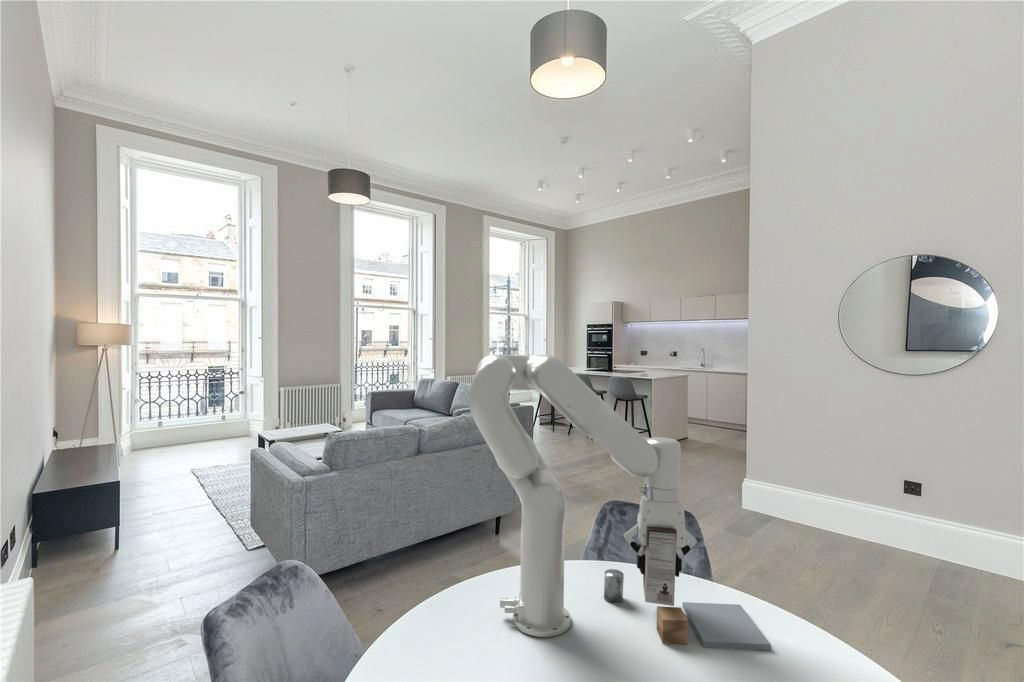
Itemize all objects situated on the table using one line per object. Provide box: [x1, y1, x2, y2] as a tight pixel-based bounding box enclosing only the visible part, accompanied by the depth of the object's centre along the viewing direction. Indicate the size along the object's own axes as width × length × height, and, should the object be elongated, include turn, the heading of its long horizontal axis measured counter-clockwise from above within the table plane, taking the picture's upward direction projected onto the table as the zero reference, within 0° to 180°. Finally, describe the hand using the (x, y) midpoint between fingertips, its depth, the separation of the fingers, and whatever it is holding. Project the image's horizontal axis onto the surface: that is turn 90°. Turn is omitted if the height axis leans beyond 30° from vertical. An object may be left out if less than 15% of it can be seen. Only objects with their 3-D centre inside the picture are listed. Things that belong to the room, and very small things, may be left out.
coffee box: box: [642, 527, 677, 607], centre depth 109 cm, size 9×6×16 cm
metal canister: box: [603, 568, 624, 604], centre depth 115 cm, size 4×4×6 cm
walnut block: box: [656, 606, 689, 646], centre depth 100 cm, size 5×5×5 cm
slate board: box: [682, 601, 772, 651], centre depth 104 cm, size 13×15×1 cm
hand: (658, 572), depth 109 cm, fingers closed on coffee box, 6 cm apart
